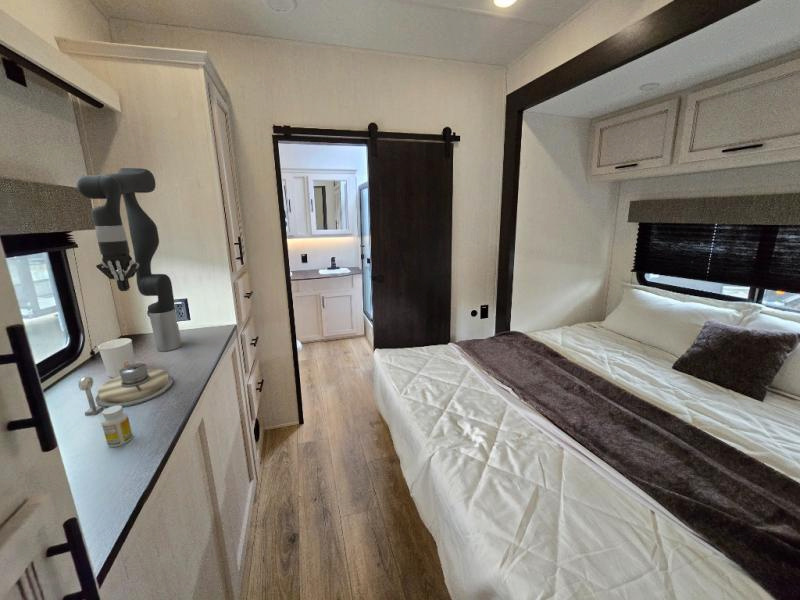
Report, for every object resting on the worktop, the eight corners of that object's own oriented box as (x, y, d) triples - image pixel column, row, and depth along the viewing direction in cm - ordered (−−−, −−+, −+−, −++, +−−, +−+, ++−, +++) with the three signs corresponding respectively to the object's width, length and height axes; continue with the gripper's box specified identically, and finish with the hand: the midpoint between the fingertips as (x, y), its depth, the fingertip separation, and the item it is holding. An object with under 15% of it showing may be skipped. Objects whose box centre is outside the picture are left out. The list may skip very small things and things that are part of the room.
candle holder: (120, 379, 124) (112, 349, 121) (98, 377, 126) (90, 347, 123) (144, 367, 133) (138, 339, 130) (124, 365, 135) (117, 337, 132)
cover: (119, 382, 116) (116, 368, 115) (147, 373, 121) (144, 360, 120) (123, 390, 111) (120, 376, 109) (152, 381, 116) (149, 367, 115)
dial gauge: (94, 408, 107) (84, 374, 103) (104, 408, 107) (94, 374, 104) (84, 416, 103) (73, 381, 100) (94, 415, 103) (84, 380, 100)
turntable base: (124, 377, 126) (123, 375, 126) (184, 374, 128) (183, 371, 128) (78, 410, 106) (78, 407, 105) (150, 405, 108) (150, 403, 107)
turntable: (95, 388, 116) (90, 370, 114) (160, 368, 130) (157, 352, 128) (104, 410, 103) (99, 391, 102) (176, 386, 117) (172, 368, 115)
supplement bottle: (110, 450, 88) (101, 418, 86) (105, 441, 92) (96, 410, 89) (135, 439, 92) (127, 408, 90) (130, 431, 95) (122, 401, 93)
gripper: (141, 238, 117) (151, 287, 121) (99, 239, 115) (111, 288, 120) (126, 240, 109) (138, 292, 114) (81, 241, 108) (95, 294, 113)
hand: (124, 290), depth 117 cm, fingers closed
